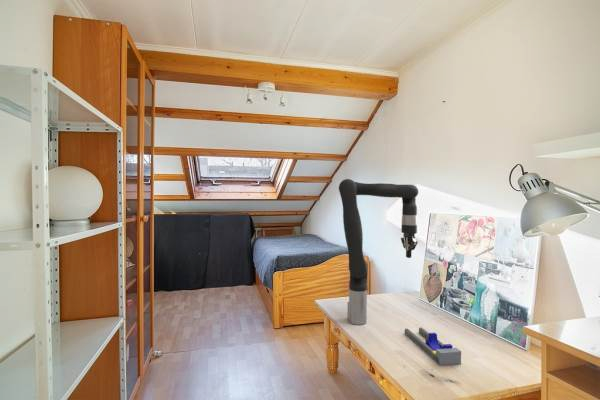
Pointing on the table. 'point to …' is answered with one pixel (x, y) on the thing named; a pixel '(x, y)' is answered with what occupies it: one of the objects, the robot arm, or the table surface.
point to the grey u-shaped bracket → (440, 355)
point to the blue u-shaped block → (435, 342)
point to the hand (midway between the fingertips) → (408, 257)
